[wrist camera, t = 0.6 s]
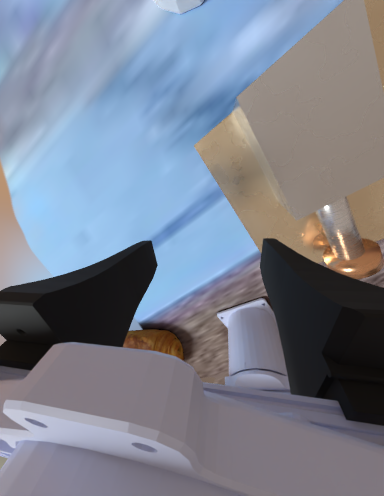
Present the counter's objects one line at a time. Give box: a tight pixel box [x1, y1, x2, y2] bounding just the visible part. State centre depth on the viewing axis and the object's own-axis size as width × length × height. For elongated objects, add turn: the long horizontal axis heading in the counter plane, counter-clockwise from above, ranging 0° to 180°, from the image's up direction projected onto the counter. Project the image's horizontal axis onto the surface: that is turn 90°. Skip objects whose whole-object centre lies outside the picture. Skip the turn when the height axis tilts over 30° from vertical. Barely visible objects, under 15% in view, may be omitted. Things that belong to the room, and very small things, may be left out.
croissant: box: [123, 329, 184, 360], centre depth 34 cm, size 14×16×8 cm
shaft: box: [315, 196, 384, 279], centre depth 15 cm, size 11×4×4 cm, turn 37°
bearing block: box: [194, 0, 384, 263], centre depth 14 cm, size 18×14×6 cm
